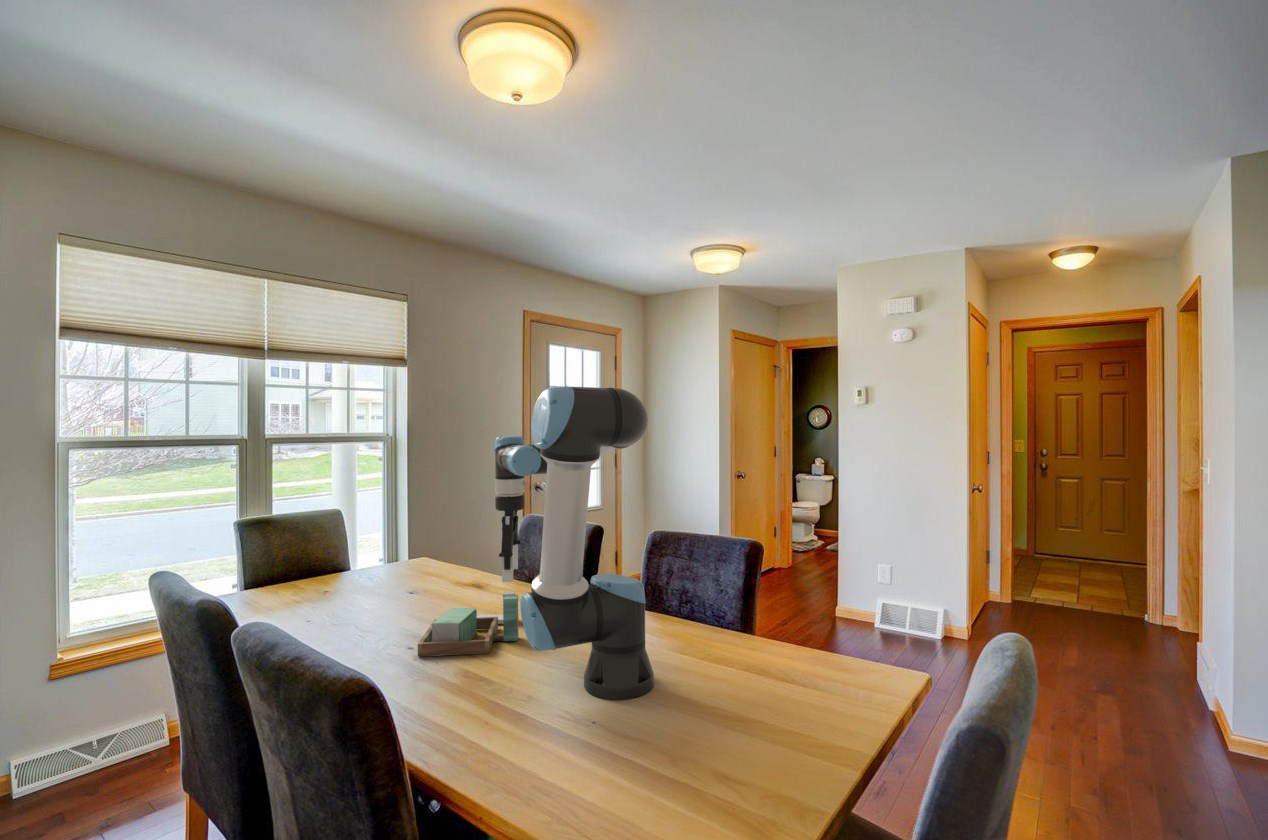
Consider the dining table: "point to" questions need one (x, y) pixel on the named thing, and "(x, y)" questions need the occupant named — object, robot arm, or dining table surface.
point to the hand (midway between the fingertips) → (510, 575)
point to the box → (455, 625)
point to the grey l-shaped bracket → (500, 616)
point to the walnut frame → (491, 623)
